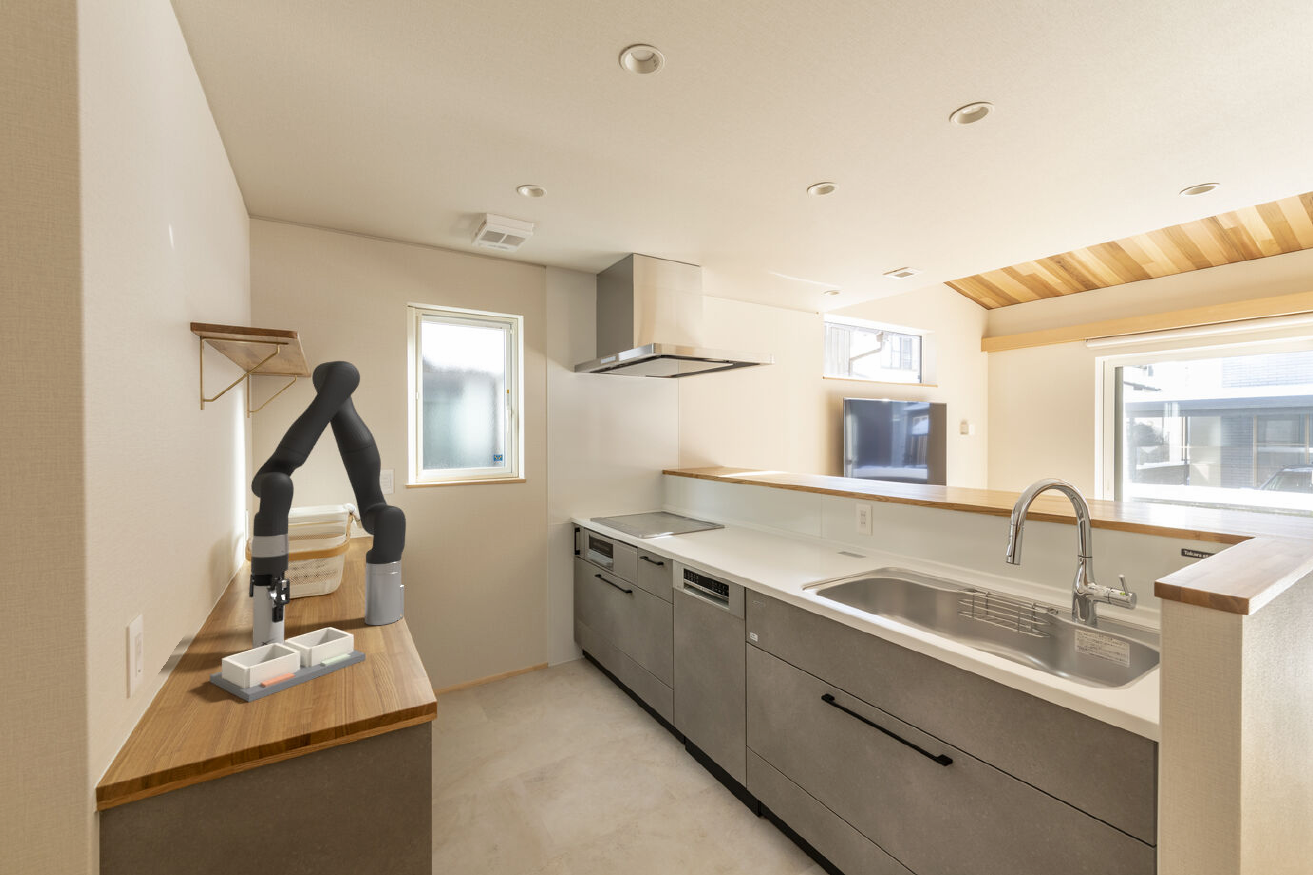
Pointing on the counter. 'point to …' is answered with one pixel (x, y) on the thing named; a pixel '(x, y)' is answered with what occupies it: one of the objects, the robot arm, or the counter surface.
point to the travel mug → (265, 615)
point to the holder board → (286, 663)
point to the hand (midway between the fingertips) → (268, 618)
